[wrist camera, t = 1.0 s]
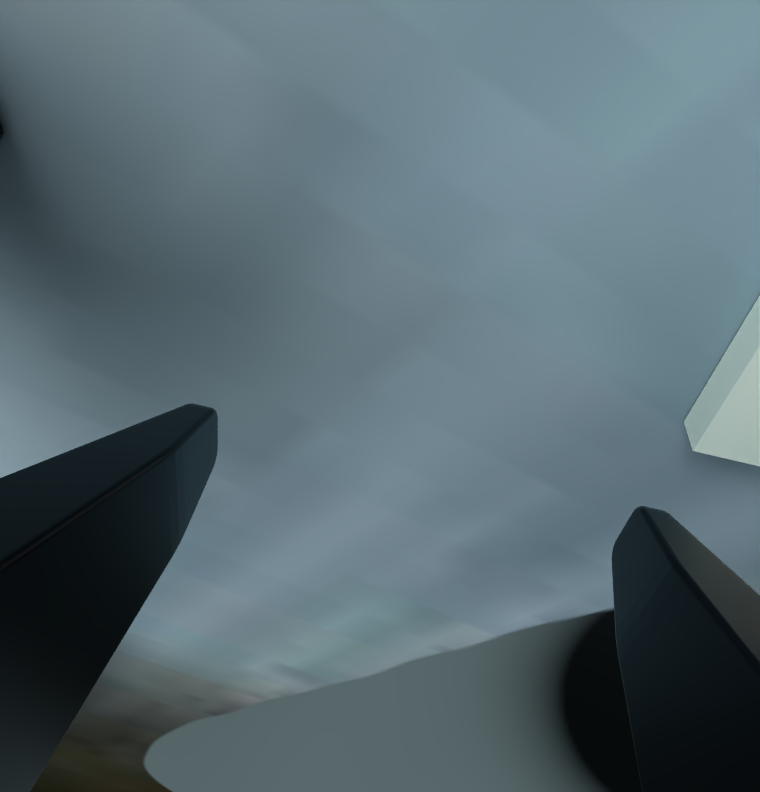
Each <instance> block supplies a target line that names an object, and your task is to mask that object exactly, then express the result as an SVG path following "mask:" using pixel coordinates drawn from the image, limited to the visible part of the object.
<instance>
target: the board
mask: <svg viewBox="0 0 760 792" xmlns="http://www.w3.org/2000/svg"><path fill="white" fill-rule="evenodd" d="M684 424H685V427H686V431H687V434H688V437H689V440H690V443H691V447H692V450H693V451H695V452H699V453H704V454H708V455H712V456H717V457H721V458H725V459H730V460H734V461H738V462H743V463H747V464H751V465H756V466H760V296H759V297H758V299H757V301H756V302H755V304H754V306H753V307H752V309H751V311H750V312H749V314H748V316H747V317H746V319H745V321H744V322H743V324H742V326H741V327H740V329H739V331H738V332H737V334H736V336H735V337H734V339H733V341H732V342H731V344H730V346H729V347H728V349H727V351H726V352H725V354H724V356H723V357H722V359H721V361H720V362H719V364H718V366H717V367H716V369H715V371H714V372H713V374H712V376H711V377H710V379H709V381H708V382H707V384H706V386H705V387H704V389H703V391H702V392H701V394H700V396H699V397H698V399H697V401H696V402H695V404H694V406H693V407H692V409H691V411H690V412H689V414H688V416H687V417H686V419H685V421H684Z"/></svg>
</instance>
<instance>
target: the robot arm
mask: <svg viewBox="0 0 760 792" xmlns="http://www.w3.org/2000/svg"><path fill="white" fill-rule="evenodd" d="M2 136H3V130H2V126H1V124H0V140H1V139H2ZM217 446H218V417H217V412H216V411H215V410H214V409H213V408H210V407H206V406H201V405H197V404H186V405H184V406H181V407H179V408H176V409H174V410H171V411H169V412H166V413H164V414H161V415H158V416H156V417H153V418H151V419H148V420H146V421H143V422H141V423H138V424H136V425H133V426H131V427H128V428H126V429H123V430H121V431H118V432H116V433H113V434H111V435H108V436H106V437H103V438H100V439H98V440H95V441H93V442H90V443H88V444H85V445H83V446H80V447H78V448H75V449H73V450H70V451H68V452H65V453H63V454H60V455H58V456H55V457H53V458H50V459H48V460H45V461H42V462H40V463H37V464H35V465H32V466H30V467H27V468H25V469H22V470H20V471H17V472H15V473H12V474H10V475H7V476H5V477H2V478H0V792H30V791H31V789H32V788H33V786H34V784H35V783H36V781H37V779H38V778H39V776H40V774H41V773H42V771H43V769H44V768H45V766H46V764H47V763H48V761H49V759H50V758H51V756H52V754H53V753H54V751H55V750H56V748H57V746H58V745H59V743H60V741H61V740H62V738H63V736H64V735H65V733H66V731H67V730H68V728H69V726H70V725H71V723H72V721H73V720H74V718H75V716H76V715H77V713H78V711H79V710H80V708H81V707H82V705H83V703H84V702H85V700H86V698H87V697H88V695H89V693H90V692H91V690H92V688H93V687H94V685H95V683H96V682H97V680H98V678H99V677H100V675H101V673H102V672H103V670H104V669H105V667H106V665H107V664H108V662H109V660H110V659H111V657H112V655H113V654H114V652H115V650H116V649H117V647H118V645H119V644H120V642H121V640H122V639H123V637H124V635H125V634H126V632H127V631H128V629H129V627H130V626H131V624H132V622H133V621H134V619H135V617H136V616H137V614H138V612H139V611H140V609H141V607H142V606H143V604H144V602H145V601H146V599H147V597H148V596H149V594H150V593H151V591H152V589H153V588H154V586H155V584H156V583H157V581H158V579H159V578H160V576H161V574H162V573H163V571H164V569H165V568H166V566H167V564H168V563H169V561H170V559H171V558H172V556H173V554H174V553H175V551H176V549H177V547H178V545H179V544H180V542H181V539H182V537H183V535H184V533H185V531H186V529H187V526H188V524H189V522H190V520H191V517H192V515H193V513H194V510H195V508H196V506H197V504H198V501H199V499H200V497H201V494H202V492H203V490H204V488H205V485H206V483H207V481H208V478H209V476H210V474H211V472H212V469H213V467H214V464H215V461H216V456H217ZM612 573H613V592H614V611H615V631H616V643H617V651H618V657H619V664H620V669H621V675H622V679H623V686H624V691H625V696H626V702H627V708H628V713H629V719H630V724H631V730H632V736H633V741H634V747H635V752H636V757H637V763H638V769H639V774H640V779H641V785H642V791H643V792H760V595H759V594H757V593H756V592H755V591H754V590H753V589H752V588H751V587H750V586H749V585H747V584H746V583H745V582H744V581H743V580H742V579H741V578H740V577H739V576H738V575H736V574H735V573H734V572H733V571H732V570H731V569H730V568H729V567H728V566H726V565H725V564H724V563H723V562H722V561H721V560H720V559H719V558H718V557H716V556H715V555H714V554H713V553H712V552H711V551H710V550H709V549H708V548H707V547H705V546H704V545H703V544H702V543H701V542H700V541H699V540H698V539H697V538H695V537H694V536H693V535H692V534H691V533H690V532H689V531H688V530H687V529H685V528H684V527H683V526H682V525H681V524H680V523H679V522H678V521H677V520H675V519H674V518H673V517H672V516H671V515H670V514H669V513H667V512H665V511H663V510H658V509H654V508H649V507H645V506H640V507H637V508H636V509H635V510H634V511H633V513H632V514H631V516H630V518H629V519H628V521H627V523H626V524H625V526H624V528H623V529H622V531H621V533H620V535H619V536H618V538H617V540H616V542H615V544H614V547H613V552H612Z"/></svg>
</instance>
